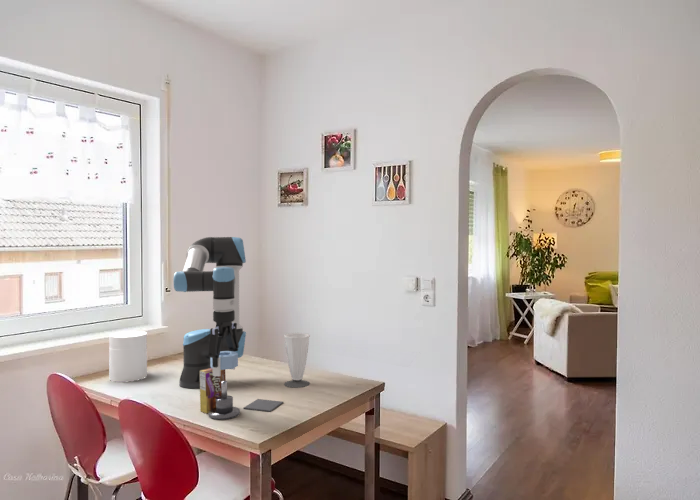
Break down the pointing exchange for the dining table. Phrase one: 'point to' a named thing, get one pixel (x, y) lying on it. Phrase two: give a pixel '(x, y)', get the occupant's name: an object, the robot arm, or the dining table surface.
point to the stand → (224, 406)
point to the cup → (297, 358)
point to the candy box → (210, 389)
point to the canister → (127, 356)
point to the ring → (227, 360)
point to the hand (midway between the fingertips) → (224, 372)
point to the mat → (263, 405)
